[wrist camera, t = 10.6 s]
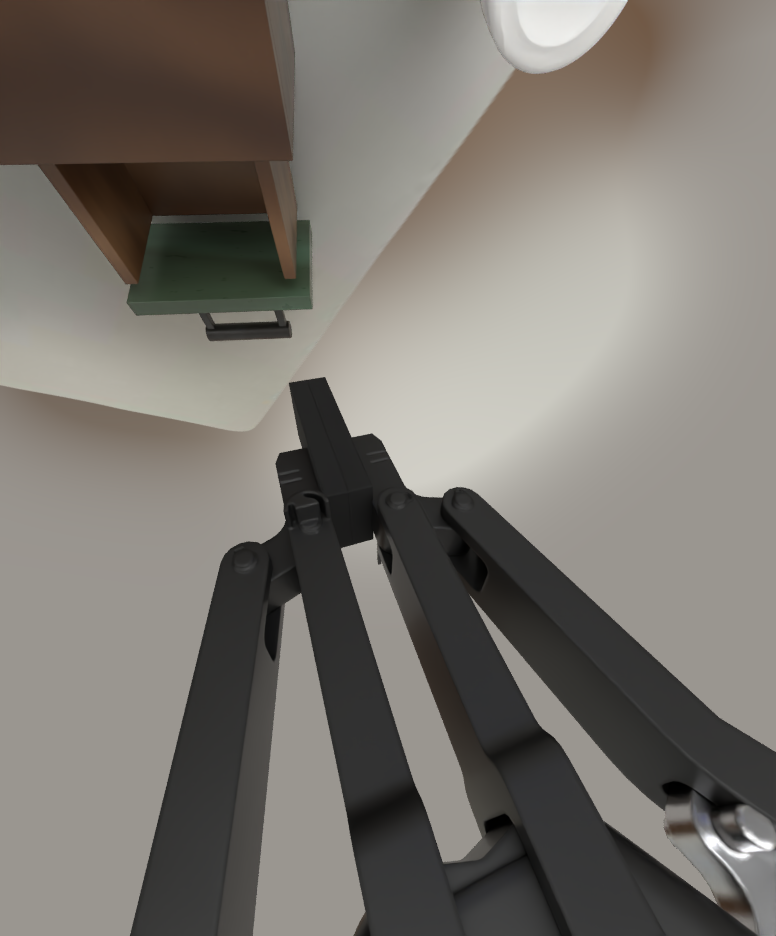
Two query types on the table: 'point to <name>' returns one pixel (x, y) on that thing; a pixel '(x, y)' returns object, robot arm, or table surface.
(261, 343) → the table surface
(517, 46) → the sprinkles bottle
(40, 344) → the table surface
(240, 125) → the cabinet
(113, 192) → the drawer
